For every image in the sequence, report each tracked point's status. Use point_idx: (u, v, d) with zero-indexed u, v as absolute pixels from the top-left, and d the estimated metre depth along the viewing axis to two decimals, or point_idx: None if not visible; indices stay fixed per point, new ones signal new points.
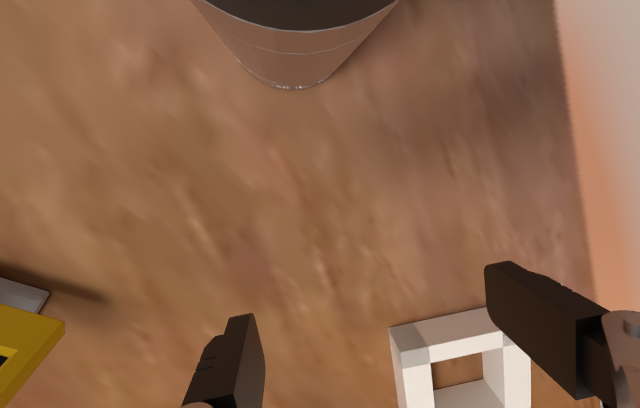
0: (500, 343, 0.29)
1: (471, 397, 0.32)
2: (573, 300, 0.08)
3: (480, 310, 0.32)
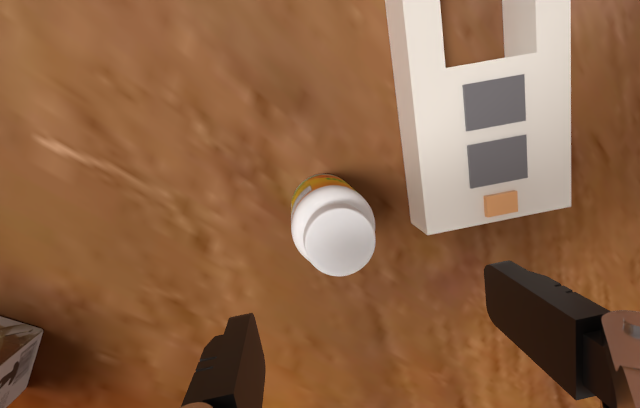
0: None
1: None
2: (573, 300, 0.08)
3: None
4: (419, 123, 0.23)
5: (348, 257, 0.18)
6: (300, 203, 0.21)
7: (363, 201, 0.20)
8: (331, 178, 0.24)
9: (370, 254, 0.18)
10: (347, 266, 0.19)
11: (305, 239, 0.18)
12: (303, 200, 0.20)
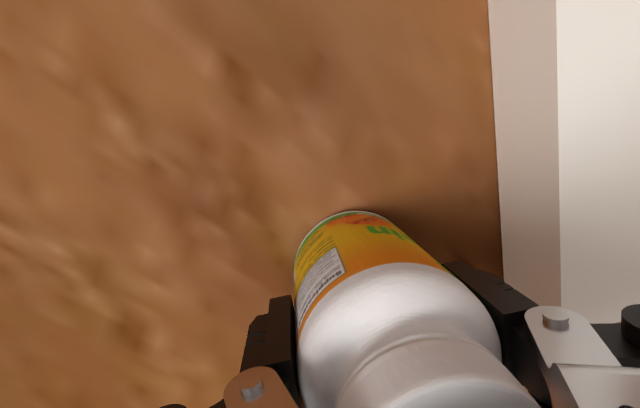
0: None
1: None
2: (507, 296, 0.09)
3: None
4: (566, 114, 0.11)
5: None
6: (319, 311, 0.08)
7: (480, 307, 0.08)
8: (377, 228, 0.12)
9: None
10: None
11: None
12: (327, 305, 0.08)
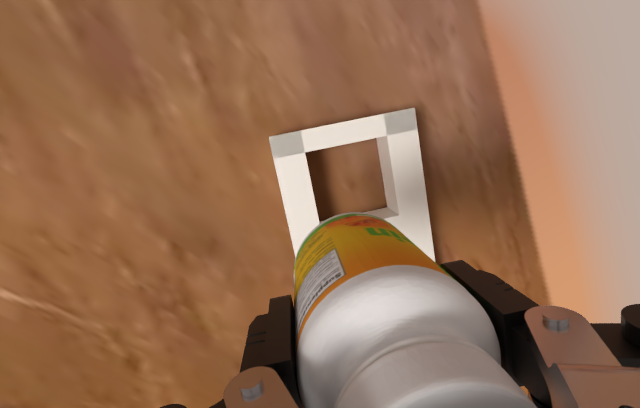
0: (383, 130, 0.26)
1: None
2: (507, 296, 0.09)
3: None
4: None
5: None
6: (319, 314, 0.08)
7: (479, 309, 0.08)
8: (377, 230, 0.12)
9: None
10: None
11: None
12: (327, 307, 0.08)
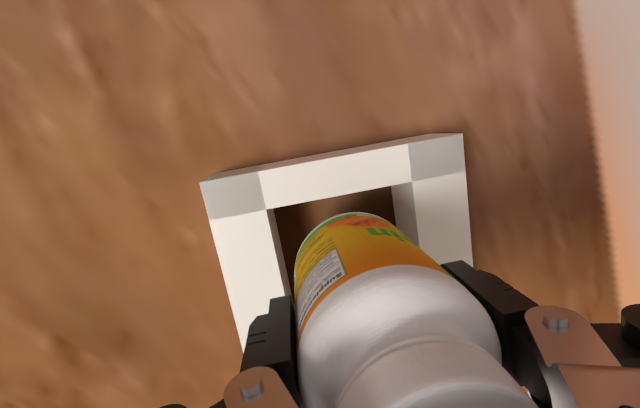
0: (406, 173, 0.15)
1: None
2: (507, 296, 0.09)
3: (384, 142, 0.18)
4: None
5: None
6: (320, 314, 0.08)
7: (480, 309, 0.08)
8: (378, 229, 0.12)
9: None
10: None
11: None
12: (327, 307, 0.08)
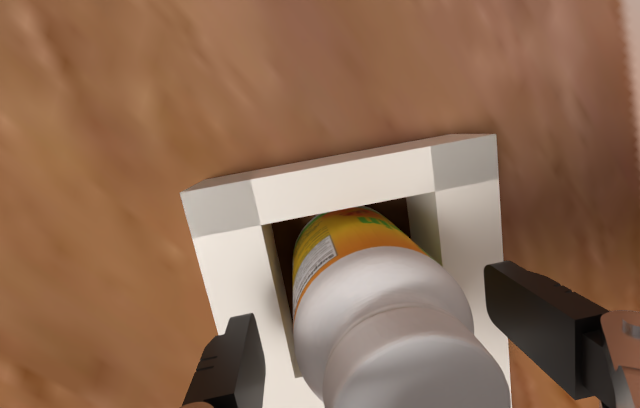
0: (428, 181, 0.12)
1: None
2: (572, 300, 0.08)
3: (399, 144, 0.15)
4: None
5: None
6: (313, 288, 0.09)
7: (453, 284, 0.09)
8: (368, 219, 0.13)
9: None
10: None
11: None
12: (320, 282, 0.09)
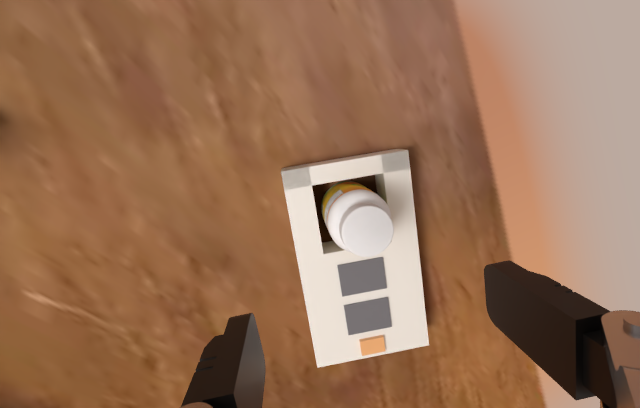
0: (380, 168, 0.30)
1: None
2: (573, 300, 0.08)
3: (371, 153, 0.33)
4: (306, 291, 0.32)
5: (373, 242, 0.25)
6: (335, 202, 0.27)
7: (383, 201, 0.27)
8: (356, 184, 0.30)
9: (389, 240, 0.25)
10: (372, 249, 0.25)
11: (342, 228, 0.24)
12: (337, 200, 0.27)
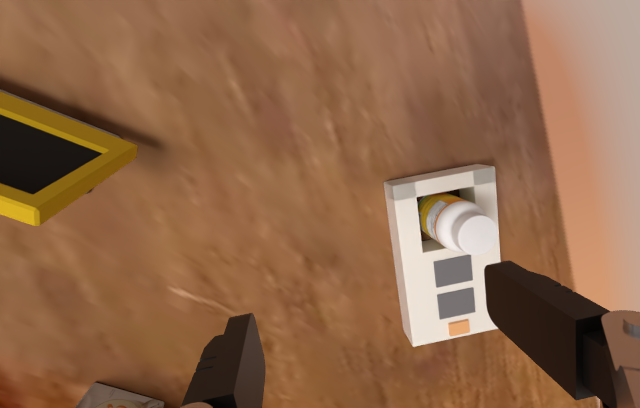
0: (471, 182, 0.37)
1: None
2: (573, 300, 0.08)
3: (457, 168, 0.39)
4: (407, 283, 0.38)
5: (482, 244, 0.31)
6: (444, 212, 0.34)
7: (483, 210, 0.33)
8: (450, 195, 0.37)
9: (494, 242, 0.31)
10: (481, 249, 0.32)
11: (458, 233, 0.31)
12: (446, 210, 0.33)
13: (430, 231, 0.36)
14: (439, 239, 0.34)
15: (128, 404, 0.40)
